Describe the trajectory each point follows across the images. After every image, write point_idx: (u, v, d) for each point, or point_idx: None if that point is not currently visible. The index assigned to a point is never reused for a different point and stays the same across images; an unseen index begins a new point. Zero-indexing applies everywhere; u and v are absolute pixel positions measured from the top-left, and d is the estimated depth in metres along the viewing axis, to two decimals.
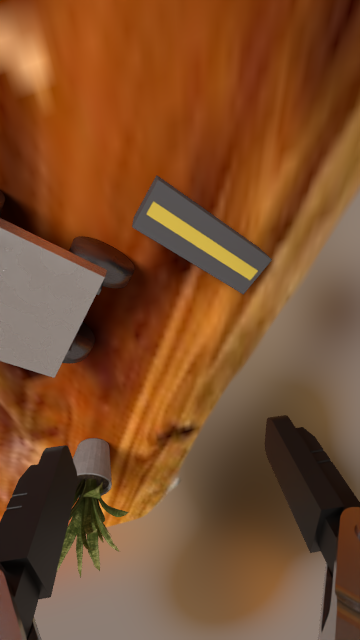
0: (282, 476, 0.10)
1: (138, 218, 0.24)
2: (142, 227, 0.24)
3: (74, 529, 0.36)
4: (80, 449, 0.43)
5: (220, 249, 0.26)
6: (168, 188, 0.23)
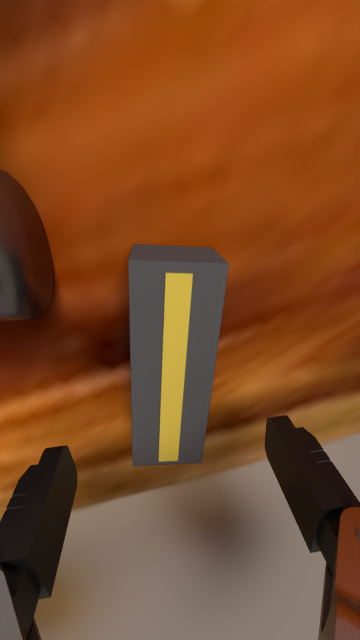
0: (282, 476, 0.10)
1: (150, 263, 0.12)
2: (138, 277, 0.12)
3: None
4: None
5: (177, 403, 0.15)
6: (223, 286, 0.13)
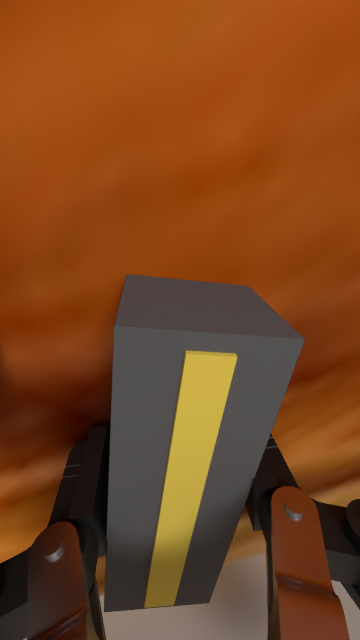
0: None
1: (156, 333, 0.06)
2: (132, 357, 0.06)
3: None
4: None
5: (182, 541, 0.09)
6: (287, 375, 0.07)
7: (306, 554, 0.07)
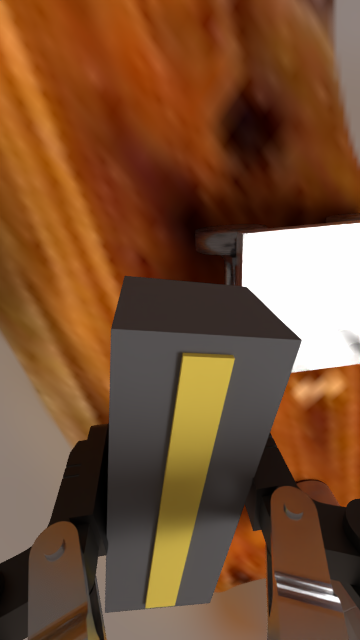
0: None
1: (153, 335, 0.06)
2: (130, 360, 0.06)
3: None
4: None
5: (182, 541, 0.09)
6: (285, 376, 0.07)
7: (306, 553, 0.07)
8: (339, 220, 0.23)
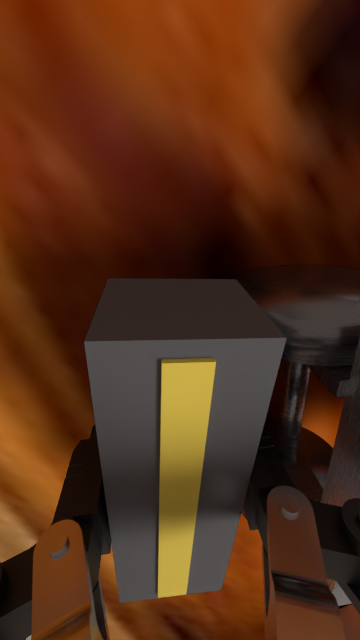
0: None
1: (129, 345, 0.06)
2: (108, 370, 0.06)
3: None
4: None
5: (186, 537, 0.09)
6: (272, 375, 0.07)
7: (302, 552, 0.07)
8: None
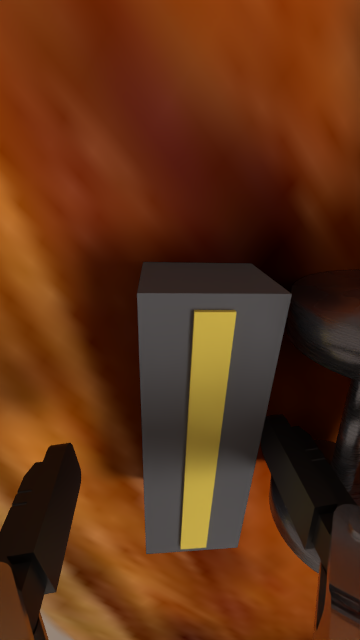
0: (277, 474, 0.10)
1: (170, 297, 0.08)
2: (153, 318, 0.08)
3: None
4: None
5: (207, 482, 0.11)
6: (281, 326, 0.08)
7: None
8: None
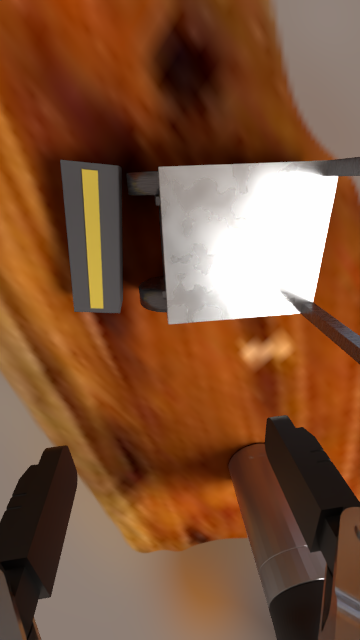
0: (282, 476, 0.10)
1: (72, 162, 0.21)
2: (67, 171, 0.22)
3: None
4: None
5: (98, 262, 0.25)
6: (117, 180, 0.22)
7: None
8: None
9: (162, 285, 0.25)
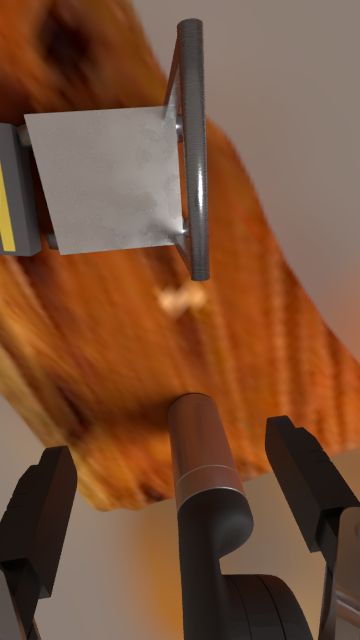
0: (282, 476, 0.10)
1: None
2: None
3: None
4: None
5: (5, 208, 0.30)
6: (11, 136, 0.27)
7: None
8: None
9: None
